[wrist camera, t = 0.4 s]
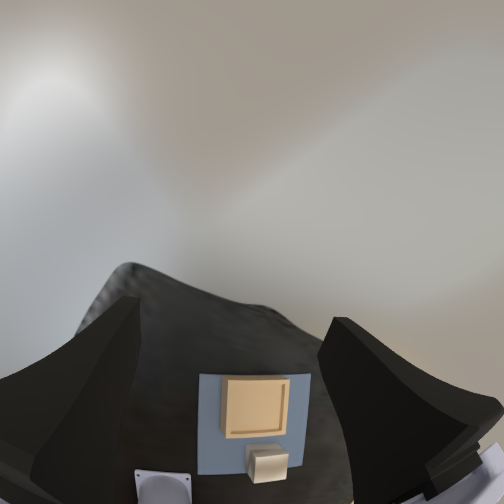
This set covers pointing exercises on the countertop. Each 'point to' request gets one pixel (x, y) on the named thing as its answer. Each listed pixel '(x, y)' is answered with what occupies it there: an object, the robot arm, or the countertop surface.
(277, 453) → the cream block
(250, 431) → the board
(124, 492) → the countertop surface
